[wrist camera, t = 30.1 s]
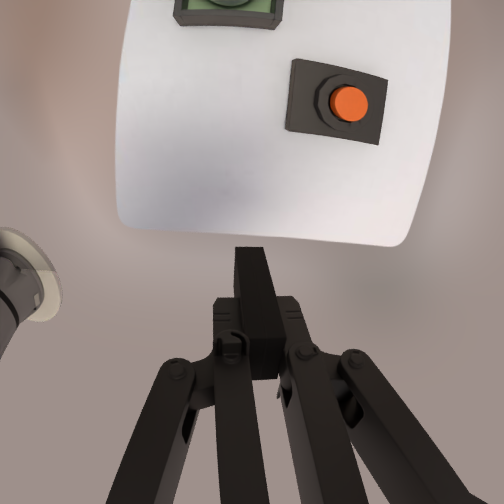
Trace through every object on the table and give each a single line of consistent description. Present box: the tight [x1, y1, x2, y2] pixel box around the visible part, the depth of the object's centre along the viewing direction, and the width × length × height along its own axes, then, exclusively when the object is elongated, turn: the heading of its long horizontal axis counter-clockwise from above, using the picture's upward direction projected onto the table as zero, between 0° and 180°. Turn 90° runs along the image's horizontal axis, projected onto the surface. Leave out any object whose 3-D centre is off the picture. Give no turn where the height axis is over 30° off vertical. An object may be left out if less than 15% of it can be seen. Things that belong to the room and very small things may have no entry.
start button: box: [330, 87, 368, 121], centre depth 28 cm, size 4×4×2 cm
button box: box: [285, 59, 388, 145], centre depth 30 cm, size 12×9×4 cm
